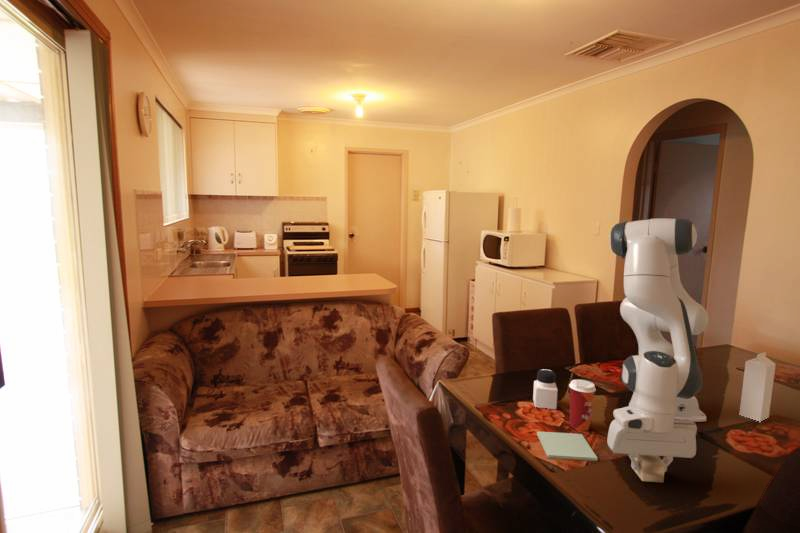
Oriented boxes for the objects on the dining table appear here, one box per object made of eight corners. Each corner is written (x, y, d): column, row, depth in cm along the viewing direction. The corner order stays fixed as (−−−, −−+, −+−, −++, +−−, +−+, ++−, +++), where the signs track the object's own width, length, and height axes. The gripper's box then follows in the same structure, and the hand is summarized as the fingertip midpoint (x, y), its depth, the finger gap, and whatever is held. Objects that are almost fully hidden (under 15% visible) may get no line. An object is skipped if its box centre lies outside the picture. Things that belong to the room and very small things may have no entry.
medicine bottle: (556, 410, 148) (559, 375, 146) (534, 407, 149) (536, 373, 148) (553, 401, 155) (556, 368, 153) (532, 399, 156) (534, 366, 155)
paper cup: (590, 435, 131) (594, 390, 130) (563, 427, 135) (566, 384, 134) (594, 424, 138) (598, 382, 136) (569, 418, 142) (572, 376, 140)
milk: (768, 419, 145) (777, 354, 142) (760, 423, 142) (769, 357, 139) (747, 411, 150) (755, 349, 147) (738, 415, 147) (746, 351, 144)
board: (581, 436, 130) (581, 434, 130) (597, 460, 117) (597, 458, 117) (536, 433, 131) (536, 431, 131) (547, 457, 118) (548, 455, 118)
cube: (653, 470, 113) (655, 452, 113) (663, 482, 108) (665, 463, 108) (633, 469, 114) (635, 451, 113) (642, 481, 109) (644, 462, 108)
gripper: (689, 414, 112) (684, 465, 113) (607, 409, 113) (602, 460, 115) (705, 426, 105) (699, 479, 107) (617, 421, 107) (612, 474, 109)
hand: (648, 469), depth 111 cm, fingers closed on cube, 5 cm apart
